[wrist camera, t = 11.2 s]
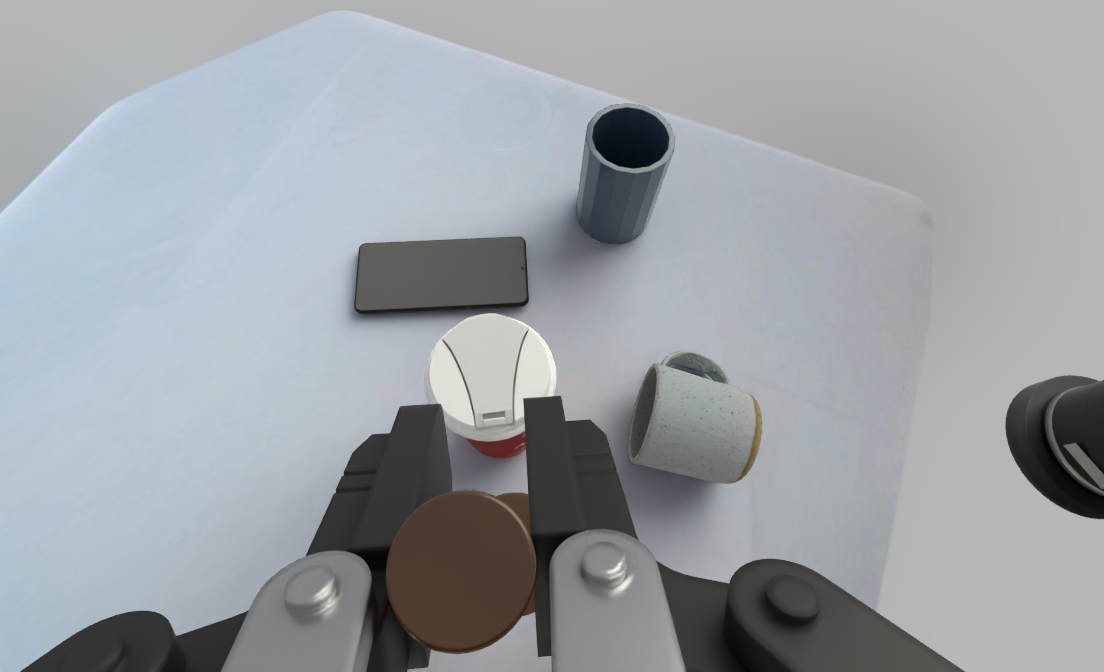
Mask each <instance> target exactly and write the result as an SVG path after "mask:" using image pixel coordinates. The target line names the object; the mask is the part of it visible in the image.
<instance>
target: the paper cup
mask: <svg viewBox="0 0 1104 672" xmlns="http://www.w3.org/2000/svg"><path fill="white" fill-rule="evenodd" d="M424 385H425V392H426V396H427V399H428V402H429V404H441V405H442V409H443V413H444V420H445V426H446V427H447V428H449V429H450V430H452V431H453V432H455V433H456V434H459V435H461V436H463V437H465V438H466V439H467V440H468V441H469V442H470V443H471V444H472V445H473V446H474V447H475V448H477V449H478V450H479V451H481V452H482V453H484V454H486V455H488V456H491V457H495V458H506V457H511V456H514V455H516V454H518V453H520V452H521V451H523V450H524V449H525V448H526V440H525V421H524V403H523V398H534V397H549V396H553V395H554V391H555V387H556V366H555V362H554V358H553V356H552V353H551V351H550V349H549V347H548V345H547V344H546V342H545V341H544V340H543V338H542V337H541V336H540V335H539V334H538V333H537V332H536V331H535V330H533V329H532V328H531V327H529V326H528V325H526V324H524V323H523V322H520V321H518V320H515V319H512V318H509V317H506V316H503V315H499V314H494V313H488V314H480V315H475V316H472V317H469V318H466V319H464V320H463V321H462V322H460V323H459V324H458V325H456V326H455V327H454V328H452V329H451V330H449V331H448V332H447V333H446V334H445V335H444V336H443V337H442V338H441V339H440V340H439V341H438V343H437V344H436V345H435V347H434V348H433V350H432V352H431V354H430V356H429V359H428V361H427V364H426V369H425V378H424Z"/></svg>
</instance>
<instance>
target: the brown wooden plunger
mask: <svg viewBox="0 0 1104 672" xmlns="http://www.w3.org/2000/svg"><path fill="white" fill-rule="evenodd" d="M536 568H537V566H536V554H535V548H534V544H533V541H532V538H531V531H530V513H529V495H528V494H525V493H506V494H502V495H499V496H496V497H495V496H493V495H490V494H488V493H485V492H480V491H475V490H456V491H451V492H447V493H444V494H441V495H438V496H436V497H434V498H432V499H430V500H428V501H427V502H425V503H424V504H422V505H421V506H420V507H418V508H417V509H416V510H415V511H414V512H413V513H412V514H411V515H410V516H409V517H408V518H407V519H406V520H405V522H404V523H403V525H402V526H401V527H400V529H399V531H398V532H397V534H396V536H395V538H394V540H393V543H392V545H391V548H390V551H389V555H388V559H387V565H386V590H387V595H388V600H389V603H390V606H391V608H392V611H393V613H394V615H395V617H396V619H397V620H398V622H399V623H400V625H401V626H402V628H403V629H404V630H405V631H406V632H407V633H408V634H409V635H410V636H411V637H412V638H413V639H415V640H416V641H417V642H419V643H420V644H422V645H424V646H426V647H427V648H430V649H433V650H435V651H439V652H443V653H451V654H461V653H469V652H474V651H478V650H480V649H483V648H485V647H488V646H490V645H491V644H493V643H495V642H497V641H498V640H499V639H501V638H502V637H503V636H505V635H506V634H507V633H508V632H509V631H510V630H511V629H512V628H513V627H514V626H515V624H516V623H517V622H518V621H519V619H520V618H521V616H524V615H528V614H531V613H534V612H535V598H534V585H535V580H536Z"/></svg>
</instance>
